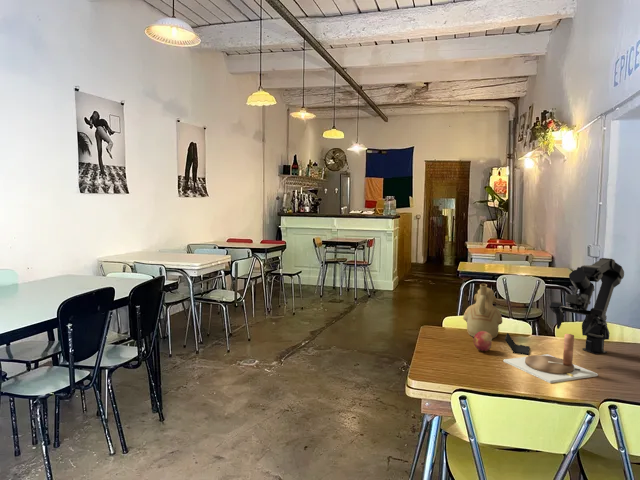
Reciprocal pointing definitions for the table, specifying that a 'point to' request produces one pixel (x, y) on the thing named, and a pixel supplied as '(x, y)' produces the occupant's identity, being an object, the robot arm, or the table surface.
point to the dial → (554, 359)
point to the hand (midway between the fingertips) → (570, 331)
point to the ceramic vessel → (483, 313)
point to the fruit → (483, 341)
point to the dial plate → (550, 377)
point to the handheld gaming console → (517, 346)
